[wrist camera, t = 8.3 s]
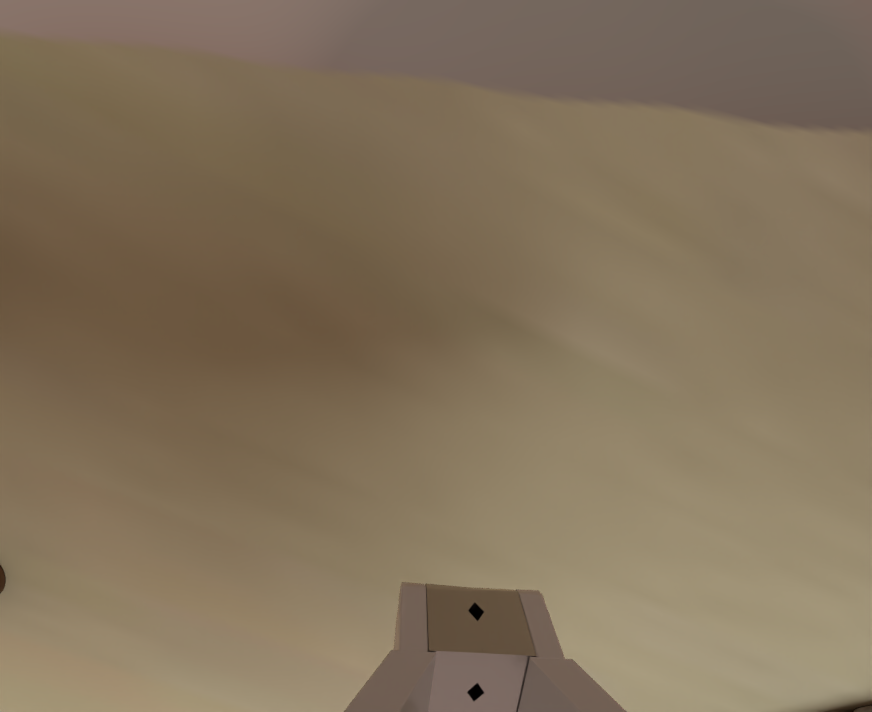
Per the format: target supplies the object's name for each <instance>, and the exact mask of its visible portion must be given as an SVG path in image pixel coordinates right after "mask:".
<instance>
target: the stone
mask: <svg viewBox="0 0 872 712" xmlns="http://www.w3.org/2000/svg"><path fill="white" fill-rule="evenodd" d="M853 712H872V705H871V706H866V707H861V708H857V709H855V710H854V711H853Z"/></svg>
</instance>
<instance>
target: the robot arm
mask: <svg viewBox="0 0 872 712" xmlns="http://www.w3.org/2000/svg"><path fill="white" fill-rule="evenodd" d="M344 712H626V711H625V710H624V709H623V708H622V707H621V706H620V705H619V704H618V703H617V702H616V701H615V700H614V699H613V698H612V697H611V696H610V695H609V694H608V693H607V692H606V691H605V690H604V689H603V688H602V687H601V686H599V685H598V684H597V683H596V682H595V681H594V680H593V679H592V678H591V677H590V676H589V675H588V674H587V673H586V672H585V671H584V670H583V669H582V668H581V667H580V666H579V665H578V664H577V663H576V662H575V661H574V660H573V659H565V657H564V654H563V652H562V649H561V646H560V643H559V640H558V638H557V635H556V632H555V629H554V626H553V624H552V621H551V618H550V615H549V612H548V610H547V607H546V604H545V601H544V598H543V596H542V594H541V593H540V591H538V590H509V589H490V588H471V587H458V586H447V585H435V584H418V583H407V582H402V583H401V587H400V595H399V604H398V612H397V620H396V629H395V640H394V650H391V651H390V652H389V654H388V655H387V656H386V658H385V659H384V660H383V662H382V663H381V664H380V665H379V667H378V668H377V669H376V671H375V672H374V673H373V674H372V676H371V677H370V678H369V680H368V681H367V682H366V684H365V685H364V686H363V687H362V689H361V690H360V691H359V693H358V694H357V695H356V697H355V698H354V699H353V700H352V702H351V703H350V704H349V706H348V707H347V708H346V710H345V711H344Z"/></svg>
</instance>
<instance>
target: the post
mask: <svg viewBox="0 0 872 712" xmlns="http://www.w3.org/2000/svg"><path fill="white" fill-rule="evenodd" d="M4 586H5V575H4V572H3V570H2V568H1V566H0V593H1V592H2V591H3V589H4Z"/></svg>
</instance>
